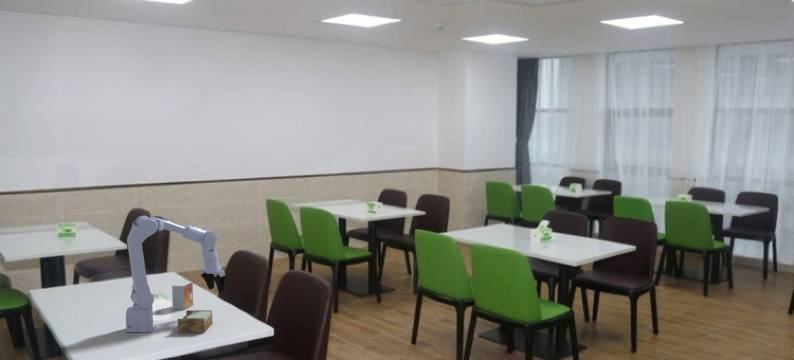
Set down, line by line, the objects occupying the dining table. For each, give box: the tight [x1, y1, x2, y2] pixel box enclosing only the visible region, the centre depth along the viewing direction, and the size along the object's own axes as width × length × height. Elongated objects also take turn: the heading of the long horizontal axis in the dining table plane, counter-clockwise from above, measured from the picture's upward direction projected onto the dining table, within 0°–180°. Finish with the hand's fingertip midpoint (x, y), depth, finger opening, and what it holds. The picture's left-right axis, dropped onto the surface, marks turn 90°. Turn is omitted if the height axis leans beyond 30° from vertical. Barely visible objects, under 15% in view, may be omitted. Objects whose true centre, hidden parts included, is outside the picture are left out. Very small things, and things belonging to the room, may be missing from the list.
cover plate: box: [186, 311, 211, 322], centre depth 259 cm, size 7×9×2 cm
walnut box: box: [177, 309, 213, 334], centre depth 259 cm, size 10×12×6 cm
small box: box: [171, 281, 194, 311], centre depth 287 cm, size 8×6×10 cm
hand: (216, 290), depth 275 cm, fingers open, 7 cm apart
